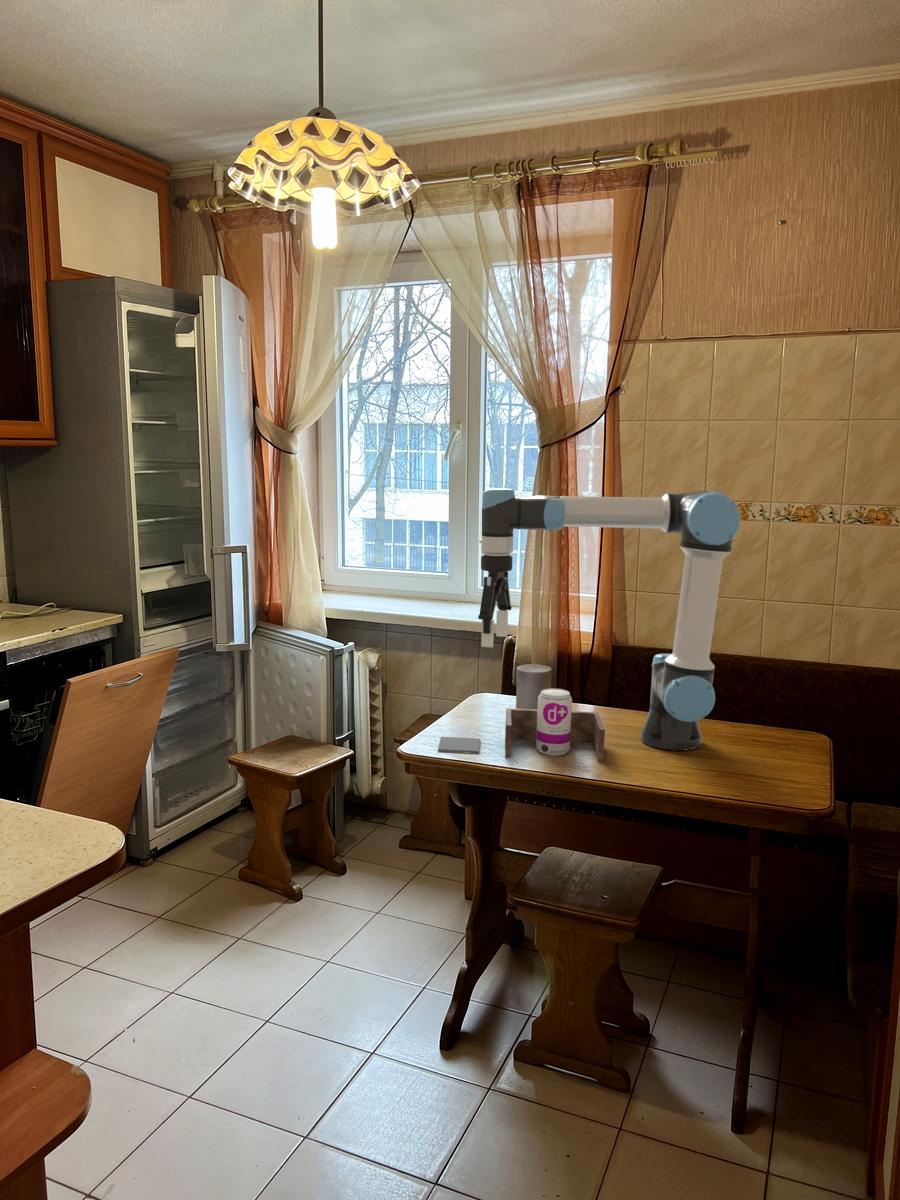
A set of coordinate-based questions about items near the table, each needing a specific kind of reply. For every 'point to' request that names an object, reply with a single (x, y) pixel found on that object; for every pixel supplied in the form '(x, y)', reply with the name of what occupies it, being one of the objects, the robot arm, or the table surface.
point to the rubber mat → (459, 744)
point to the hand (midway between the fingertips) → (494, 641)
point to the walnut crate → (582, 731)
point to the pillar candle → (531, 684)
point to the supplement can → (554, 722)
